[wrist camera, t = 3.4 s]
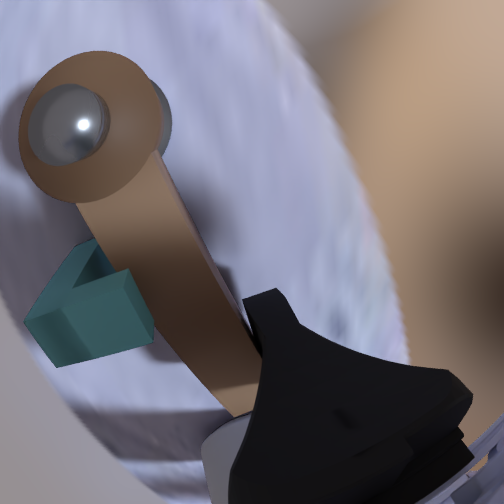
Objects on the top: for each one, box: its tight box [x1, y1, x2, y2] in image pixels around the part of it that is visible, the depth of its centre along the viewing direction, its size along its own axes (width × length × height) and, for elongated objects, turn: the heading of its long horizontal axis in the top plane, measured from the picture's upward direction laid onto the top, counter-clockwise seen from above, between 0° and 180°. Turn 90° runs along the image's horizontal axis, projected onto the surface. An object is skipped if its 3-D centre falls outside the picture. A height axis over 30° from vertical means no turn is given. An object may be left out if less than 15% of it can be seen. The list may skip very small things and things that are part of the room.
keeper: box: [23, 238, 154, 368], centre depth 7 cm, size 1×3×4 cm, turn 104°
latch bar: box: [19, 51, 262, 417], centre depth 8 cm, size 12×3×3 cm, turn 22°
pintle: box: [28, 79, 172, 166], centre depth 5 cm, size 4×4×4 cm
